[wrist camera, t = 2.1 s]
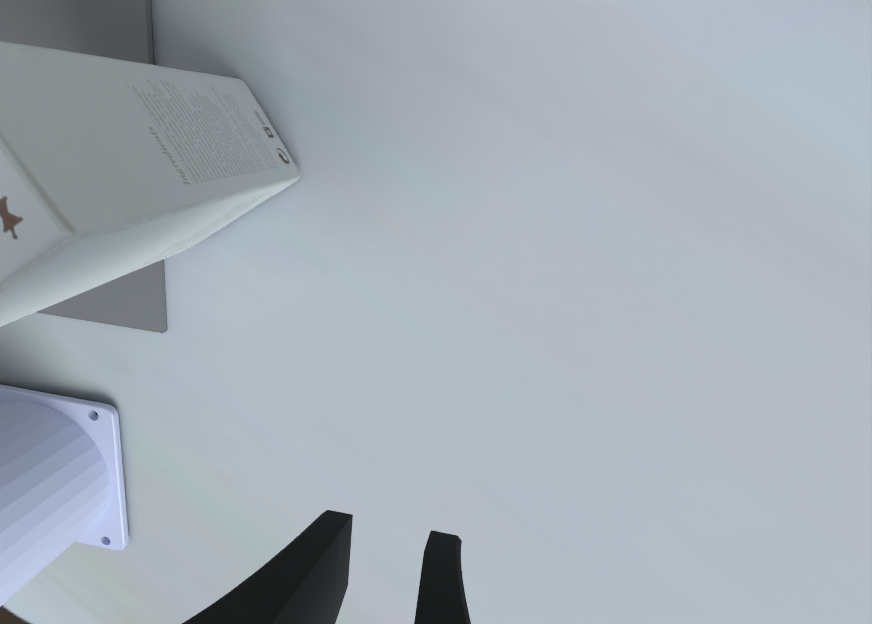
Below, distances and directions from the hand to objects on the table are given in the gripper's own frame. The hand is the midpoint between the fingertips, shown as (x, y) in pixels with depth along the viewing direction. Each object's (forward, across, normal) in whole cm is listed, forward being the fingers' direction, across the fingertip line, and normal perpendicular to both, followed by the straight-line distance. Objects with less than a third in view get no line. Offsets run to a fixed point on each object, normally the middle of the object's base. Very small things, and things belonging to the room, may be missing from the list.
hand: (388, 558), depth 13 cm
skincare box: (+10, +10, -7) cm, 16 cm away
